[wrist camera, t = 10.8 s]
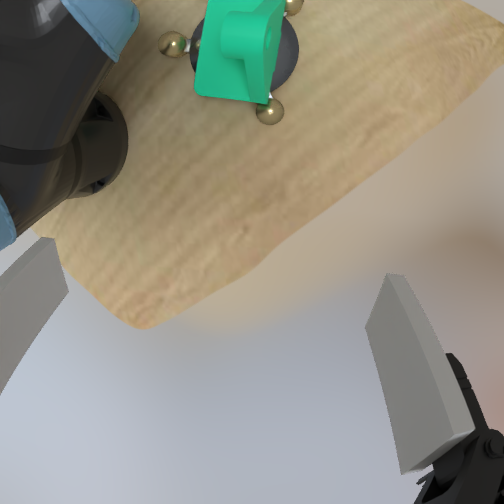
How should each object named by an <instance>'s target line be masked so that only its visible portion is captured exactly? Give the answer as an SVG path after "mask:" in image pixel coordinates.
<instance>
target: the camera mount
mask: <svg viewBox="0 0 504 504" xmlns="http://www.w3.org/2000/svg"><path fill="white" fill-rule="evenodd" d="M285 4H286V1H285V0H209V1H208V5H207V10H206V15H205V21H204V26H203V31H202V37H201V43H200V49H199V55H198V61H197V68H196V74H195V81H194V90H195V92H196V93H197V94H198V95H201V96H209V97H218V98H227V99H235V100H242V101H249V102H255V103H261V104H267V103H268V98H269V92H270V86H271V81H272V75H273V72H274V71H275V65H276V60H277V54H278V49H279V43H280V38H281V25H282V20H283V15H284V9H285Z"/></svg>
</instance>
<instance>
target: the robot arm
mask: <svg viewBox="0 0 504 504" xmlns="http://www.w3.org/2000/svg"><path fill="white" fill-rule="evenodd" d="M139 20H140V14H139V10H138V8H137V6H136V5H135V4H134V3H133V2H132V1H131V0H0V251H1V250H2V249H4V248H5V247H7V246H8V245H10V244H12V243H13V242H15V240H16V238H17V237H19V235H21V234H22V233H23V232H24V231H26V230H27V229H28V228H29V227H30V226H32V225H33V224H34V223H35V222H37V221H38V220H39V219H40V218H42V217H43V216H44V215H46V214H47V213H48V212H49V211H51V210H52V209H53V208H55V207H56V206H57V205H59V204H60V203H61V202H63V201H64V200H65V199H71V198H79V197H86V196H90V195H92V194H95V193H97V192H99V191H100V190H102V189H103V188H105V187H106V186H107V185H109V184H110V183H111V182H112V181H113V180H114V179H115V178H116V177H117V175H118V174H119V172H120V171H121V169H122V167H123V164H124V162H125V159H126V155H127V148H128V134H127V128H126V124H125V121H124V118H123V116H122V114H121V112H120V110H119V108H118V107H117V106H116V104H115V103H114V102H113V101H112V100H111V99H110V98H109V97H107V96H106V95H104V94H103V93H100V92H98V91H97V90H98V89H99V87H100V85H101V84H102V82H103V80H104V79H105V77H106V76H107V74H108V73H109V71H110V69H111V68H112V66H113V65H114V63H117V62H118V61H119V58H120V57H119V55H120V53H121V52H122V50H123V48H124V47H125V45H126V43H127V42H128V40H129V39H130V37H131V36H132V34H133V33H134V31H135V30H136V28H137V26H138V24H139ZM68 292H69V291H68V287H67V284H66V281H65V277H64V274H63V271H62V267H61V263H60V260H59V256H58V252H57V248H56V244H55V240H54V239H53V238H45V237H41V238H40V239H39V240H38V241H37V242H36V243H35V244H34V245H32V247H30V248H29V249H28V250H27V251H26V252H25V253H24V254H23V255H22V256H21V257H19V258H18V259H17V260H16V261H15V262H14V263H13V264H12V265H11V266H10V267H9V268H8V269H7V270H6V271H5V272H4V273H3V274H2V275H1V276H0V394H1V393H2V391H3V389H4V387H5V386H6V384H7V382H8V381H9V379H10V377H11V375H12V374H13V372H14V370H15V369H16V367H17V366H18V364H19V362H20V361H21V359H22V358H23V356H24V354H25V352H26V351H27V350H28V348H29V347H30V345H31V344H32V342H33V341H34V339H35V338H36V336H37V335H38V333H39V332H40V331H41V329H42V327H43V326H44V325H45V323H46V322H47V321H48V319H49V318H50V316H51V315H52V314H53V312H54V311H55V310H56V308H57V307H58V305H59V304H60V303H61V301H62V300H63V299H64V297H65V296H66V295H67V293H68ZM365 329H366V332H367V336H368V339H369V342H370V346H371V349H372V353H373V356H374V360H375V363H376V367H377V370H378V374H379V378H380V381H381V385H382V389H383V393H384V397H385V401H386V405H387V409H388V413H389V417H390V422H391V426H392V431H393V435H394V440H395V445H396V450H397V455H398V460H399V465H400V471H401V475H405V474H409V473H414V472H418V471H422V470H423V469H425V468H426V467H428V466H429V465H431V464H433V468H434V470H433V471H431V472H430V473H428V474H427V475H425V476H424V477H422V478H421V479H419V481H418V482H417V483H416V484H418V485H419V484H421V483H423V482H424V481H426V482H425V484H424V485H423V486H422V487H423V488H422V489H421V492H420V493H419V495H418V497H417V499H416V500H415V502H414V504H504V436H503V435H502V434H501V433H500V432H499V431H498V430H494V429H489V428H488V426H487V424H486V421H485V418H484V416H483V413H482V411H481V408H480V405H479V403H478V401H477V399H476V396H475V393H474V391H473V390H472V389H471V387H472V386H471V384H470V382H469V380H468V379H467V375H466V373H465V371H464V368H463V366H462V364H461V363H460V362H459V361H458V360H457V358H456V357H455V356H454V355H453V354H452V353H446V354H445V353H444V350H443V349H442V346H441V344H440V342H439V340H438V338H437V336H436V334H435V332H434V330H433V328H432V326H431V324H430V322H429V320H428V318H427V316H426V314H425V312H424V310H423V308H422V307H421V305H420V303H419V301H418V299H417V298H416V296H415V294H414V292H413V290H412V288H411V287H410V285H409V283H408V281H407V280H406V278H405V276H404V275H399V274H386V276H385V279H384V282H383V284H382V287H381V289H380V292H379V295H378V297H377V300H376V302H375V305H374V307H373V309H372V312H371V314H370V317H369V319H368V321H367V324H366V326H365Z"/></svg>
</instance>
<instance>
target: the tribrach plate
mask: <svg viewBox="0 0 504 504" xmlns="http://www.w3.org/2000/svg"><path fill="white" fill-rule="evenodd" d="M285 1H286V4H285V9H284V15H283V20H282V25H281V38H280V43H279V49H278V54H277V60H276V65H275V71H274V72H273V75H272V81H271V86H270V92H271V91H273V90H275V89H277V88H278V87H279V86H281V85H282V84H283V83H284V82H285V81H286V80H287V79H288V77H289V76H290V75H291V73H292V72H293V70H294V68H295V66H296V63H297V59H298V53H299V45H298V39H297V36H296V33H295V31H294V29H293V27H292V25H291V24H290V23H289V21H288V20H287V19H286V18H285V17H286V16H292V15H295V14H297V13H298V12H299V11H300V9H301V7H302V4H303V2H304V0H285ZM204 21H205V18H204V19H203V20H202V21H201V22H200V23H199V25H198V26H197V28H196V29H195V31H194V33H193V36H192V38H191V39H188V38H187V37H185V36H183V35H182V34H180V33H178V32H175V31H170V32H167V33H165V34H163V35H162V36H161V37H160V39H159V41H158V49H159V51H160V52H161V53H162V54H164V55H168V56H171V57H175V58H178V57H182V56H184V55H185V54H186V53H190V60H191V64H192V67H193V69H194V71H195V73H196V68H197V61H198V55H199V49H200V43H201V37H202V31H203V26H204ZM270 92H269V98H268V103H267V104H261V103H259V104H258V106H257V108H256V115H257V117H258V119H259V120H260V121H261V122H262V123H264V124H267V125H273V124H276V123H278V122H279V121H281V119H282V118H283V115H284V108H283V106H282V104H281V103H280V102H279V101H278V100H276V99H274V98H272V96H271V93H270Z"/></svg>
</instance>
